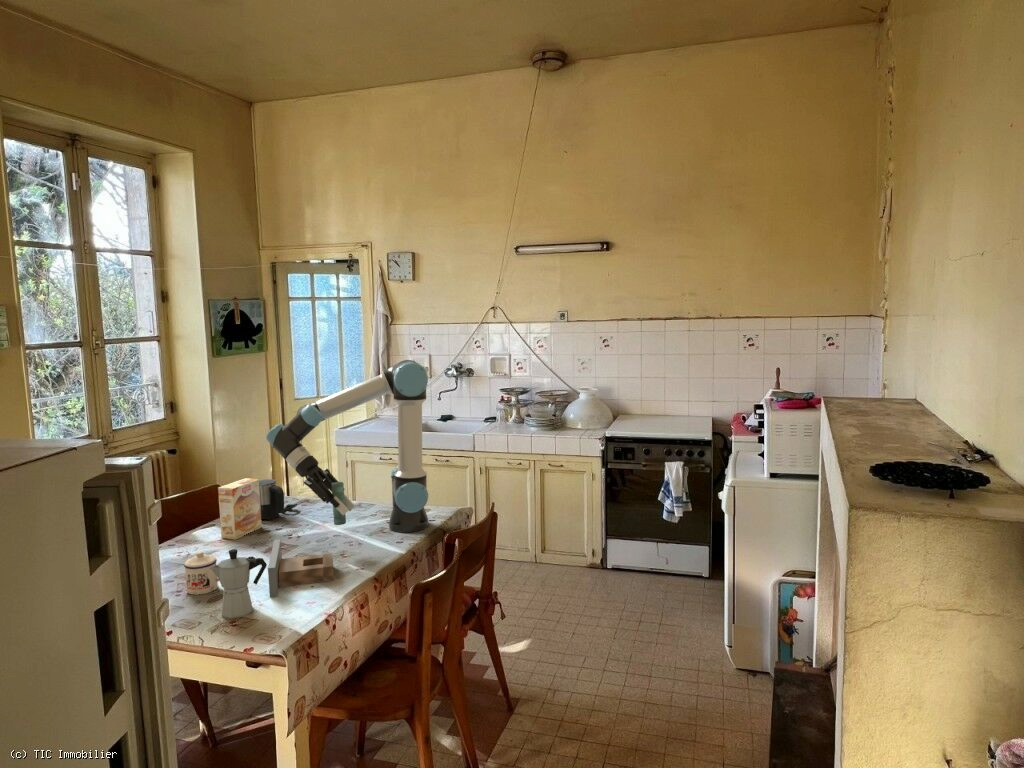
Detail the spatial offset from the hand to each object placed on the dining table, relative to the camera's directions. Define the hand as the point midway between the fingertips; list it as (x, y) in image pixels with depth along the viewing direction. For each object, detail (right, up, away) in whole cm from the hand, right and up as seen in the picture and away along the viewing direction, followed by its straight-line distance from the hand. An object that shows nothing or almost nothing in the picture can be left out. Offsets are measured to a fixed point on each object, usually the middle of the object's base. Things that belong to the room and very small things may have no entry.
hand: (349, 510), depth 234 cm
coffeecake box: (-48, -14, +28) cm, 57 cm away
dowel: (-4, -5, +2) cm, 6 cm away
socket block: (-9, -18, -17) cm, 26 cm away
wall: (-18, -18, -20) cm, 32 cm away
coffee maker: (-21, -21, -41) cm, 50 cm away
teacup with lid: (-37, -20, -25) cm, 49 cm away
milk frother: (-42, -11, +50) cm, 67 cm away
